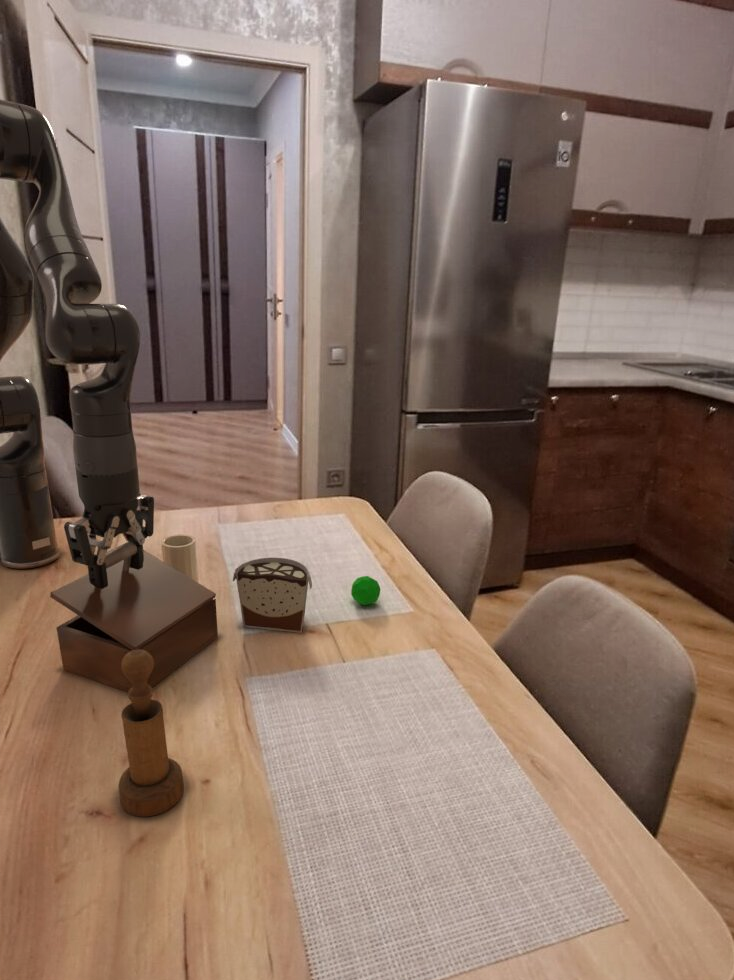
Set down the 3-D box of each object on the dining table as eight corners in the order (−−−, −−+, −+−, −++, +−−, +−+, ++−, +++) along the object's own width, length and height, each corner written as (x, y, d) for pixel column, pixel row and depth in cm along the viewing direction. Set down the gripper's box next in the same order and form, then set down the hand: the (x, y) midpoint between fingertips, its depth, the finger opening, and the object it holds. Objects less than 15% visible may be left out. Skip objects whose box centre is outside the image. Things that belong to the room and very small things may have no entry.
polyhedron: (356, 611, 112) (357, 586, 110) (346, 598, 116) (347, 573, 114) (384, 607, 114) (385, 582, 112) (373, 594, 118) (374, 570, 116)
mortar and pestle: (112, 787, 73) (92, 646, 66) (171, 764, 77) (157, 628, 70) (131, 826, 68) (112, 679, 61) (193, 800, 72) (181, 658, 65)
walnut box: (63, 669, 93) (56, 627, 90) (147, 616, 107) (143, 578, 104) (140, 696, 88) (135, 652, 85) (218, 637, 102) (215, 598, 100)
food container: (319, 614, 110) (319, 559, 107) (311, 633, 105) (311, 576, 101) (246, 607, 111) (244, 552, 107) (234, 626, 106) (231, 569, 102)
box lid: (49, 597, 88) (54, 563, 86) (139, 552, 103) (145, 522, 100) (134, 652, 85) (141, 619, 83) (215, 597, 100) (223, 568, 97)
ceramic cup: (159, 597, 113) (154, 543, 109) (180, 584, 118) (176, 532, 114) (185, 604, 111) (180, 549, 107) (205, 591, 116) (202, 538, 112)
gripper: (124, 446, 95) (134, 552, 101) (39, 472, 83) (56, 591, 89) (167, 455, 92) (174, 563, 99) (85, 484, 80) (99, 605, 87)
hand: (118, 576), depth 94 cm, fingers closed on box lid, 6 cm apart
